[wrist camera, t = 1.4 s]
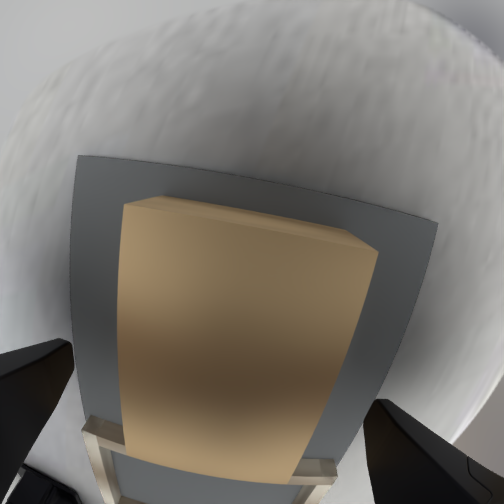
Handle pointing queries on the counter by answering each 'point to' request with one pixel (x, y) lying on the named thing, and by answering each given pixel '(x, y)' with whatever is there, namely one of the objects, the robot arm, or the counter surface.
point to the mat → (259, 200)
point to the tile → (231, 334)
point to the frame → (112, 438)
